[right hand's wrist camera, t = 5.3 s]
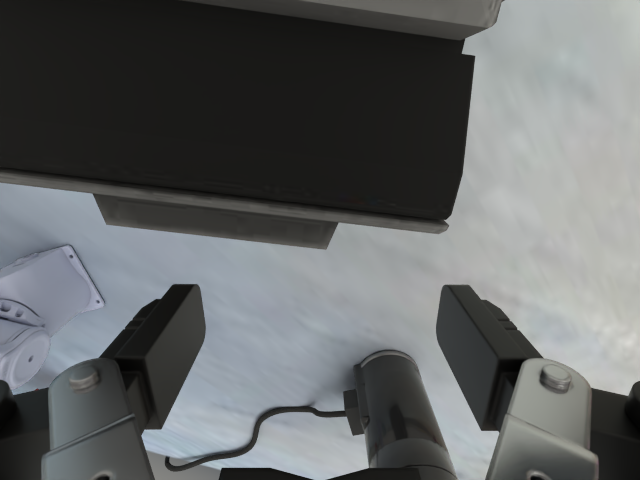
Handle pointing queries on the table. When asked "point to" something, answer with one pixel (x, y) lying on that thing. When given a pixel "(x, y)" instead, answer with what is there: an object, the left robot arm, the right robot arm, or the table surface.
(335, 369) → the table surface
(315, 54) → the cooler box
